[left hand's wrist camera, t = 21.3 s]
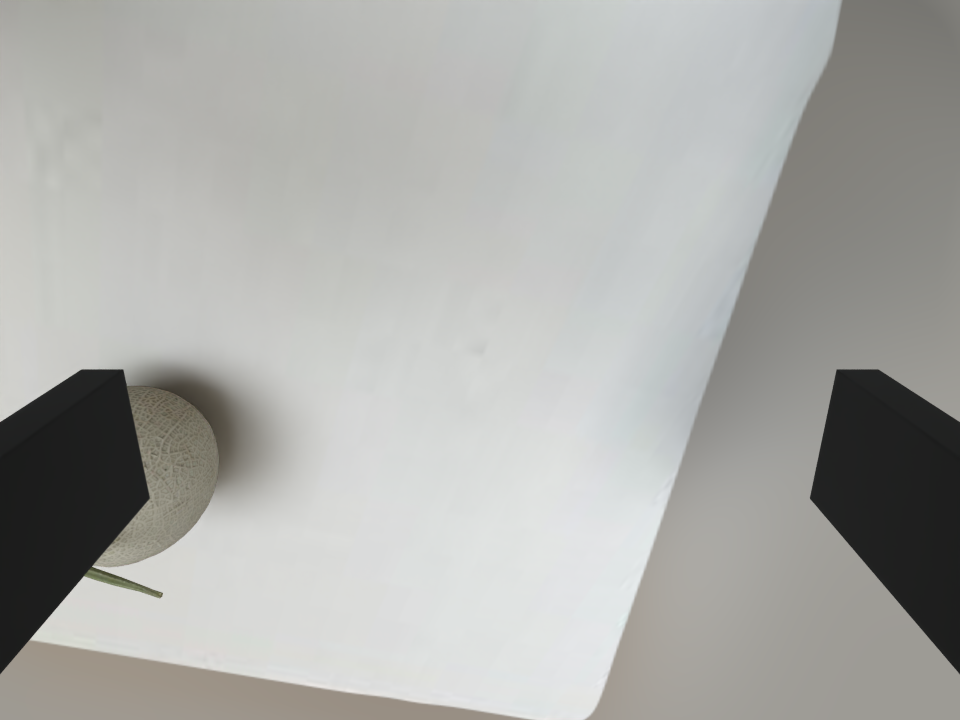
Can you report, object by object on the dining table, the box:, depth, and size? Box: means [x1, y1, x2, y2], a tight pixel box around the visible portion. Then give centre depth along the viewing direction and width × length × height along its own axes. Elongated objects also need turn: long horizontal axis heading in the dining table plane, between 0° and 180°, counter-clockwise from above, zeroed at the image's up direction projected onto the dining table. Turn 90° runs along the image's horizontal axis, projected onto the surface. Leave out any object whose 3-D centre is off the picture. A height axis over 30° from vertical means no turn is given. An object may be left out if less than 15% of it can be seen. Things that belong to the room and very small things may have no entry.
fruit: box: [84, 386, 219, 598], centre depth 40 cm, size 10×12×15 cm
